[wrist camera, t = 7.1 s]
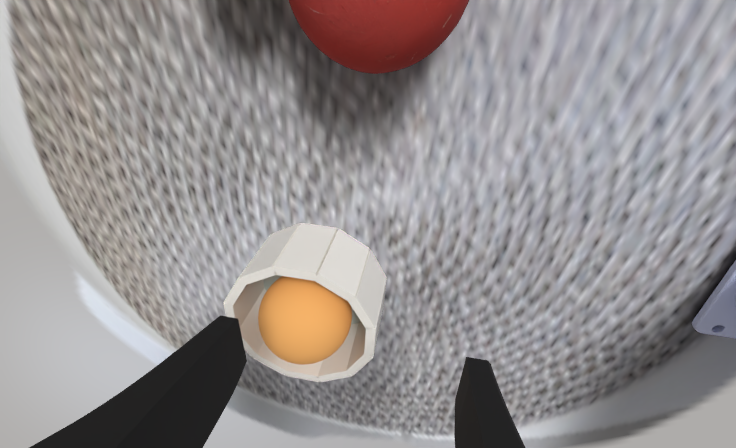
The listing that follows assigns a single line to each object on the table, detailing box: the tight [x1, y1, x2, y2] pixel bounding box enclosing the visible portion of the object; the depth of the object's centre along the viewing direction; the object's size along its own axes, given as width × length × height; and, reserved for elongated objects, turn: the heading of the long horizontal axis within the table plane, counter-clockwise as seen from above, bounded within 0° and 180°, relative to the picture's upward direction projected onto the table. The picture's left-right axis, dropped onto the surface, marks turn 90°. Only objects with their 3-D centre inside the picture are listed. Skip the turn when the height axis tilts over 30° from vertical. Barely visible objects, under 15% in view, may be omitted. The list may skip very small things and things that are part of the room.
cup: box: [223, 223, 387, 382], centre depth 21 cm, size 8×8×4 cm
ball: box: [258, 276, 352, 365], centre depth 20 cm, size 5×5×5 cm
